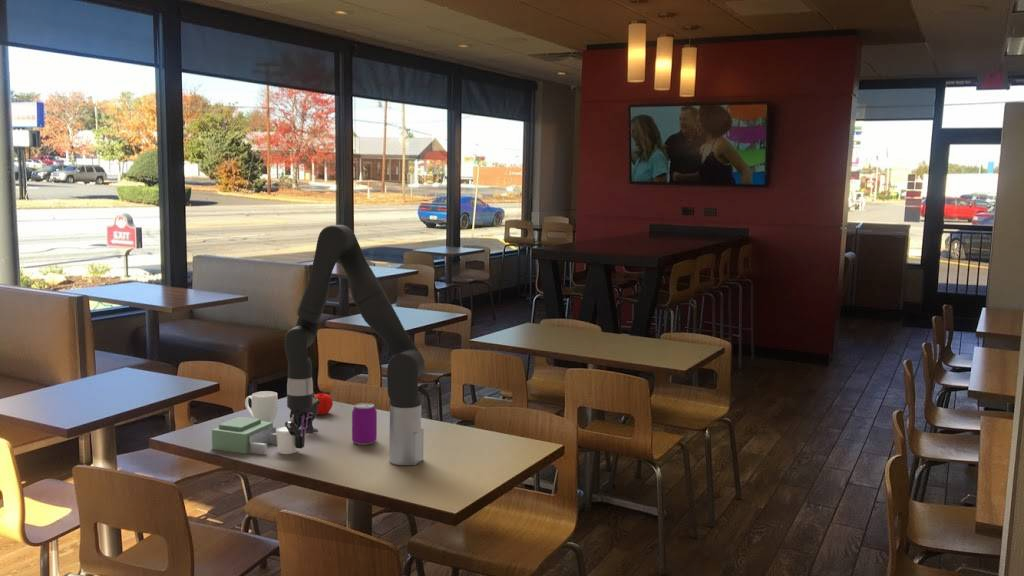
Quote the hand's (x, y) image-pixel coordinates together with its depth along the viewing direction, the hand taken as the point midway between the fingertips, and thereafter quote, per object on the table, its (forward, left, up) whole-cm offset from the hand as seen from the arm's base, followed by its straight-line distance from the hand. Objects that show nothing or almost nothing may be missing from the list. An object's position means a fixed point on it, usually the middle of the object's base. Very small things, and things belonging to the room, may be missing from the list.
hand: (300, 447), depth 252 cm
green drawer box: (+20, 0, -2) cm, 20 cm away
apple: (+17, -41, -2) cm, 45 cm away
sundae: (+9, -21, -2) cm, 23 cm away
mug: (+27, -19, -2) cm, 33 cm away
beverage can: (-13, -17, -2) cm, 21 cm away
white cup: (+4, 0, -2) cm, 5 cm away
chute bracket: (+12, 0, -2) cm, 12 cm away
